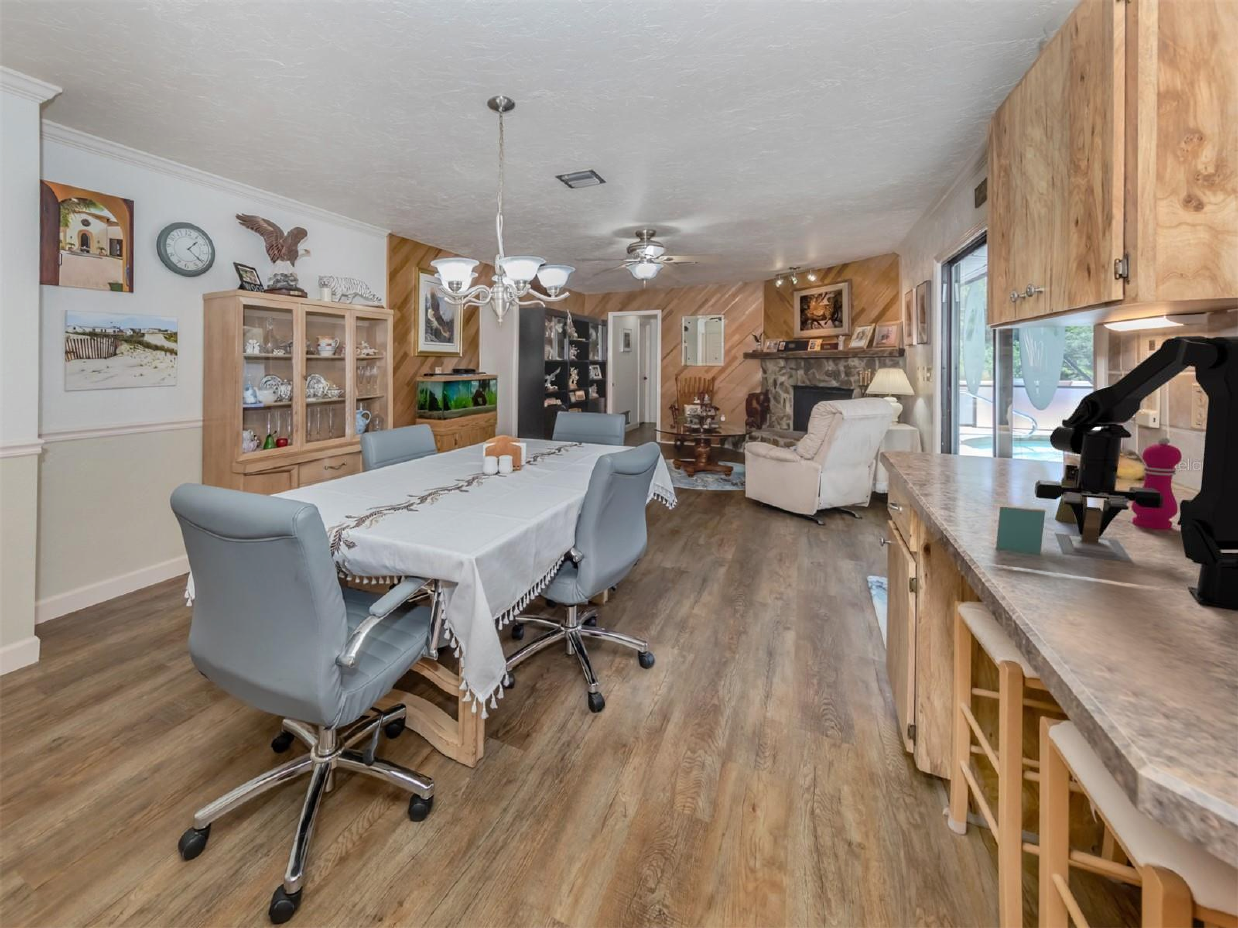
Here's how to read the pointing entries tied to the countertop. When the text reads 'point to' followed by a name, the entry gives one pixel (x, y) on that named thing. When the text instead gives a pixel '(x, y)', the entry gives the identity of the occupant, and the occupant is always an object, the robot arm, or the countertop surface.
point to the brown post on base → (1092, 535)
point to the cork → (1068, 506)
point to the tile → (1020, 529)
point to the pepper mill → (1158, 485)
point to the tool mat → (1069, 550)
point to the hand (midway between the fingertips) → (1089, 535)
